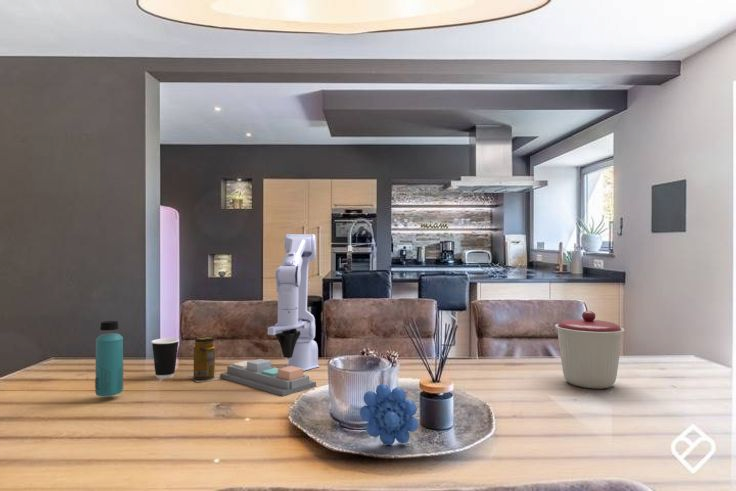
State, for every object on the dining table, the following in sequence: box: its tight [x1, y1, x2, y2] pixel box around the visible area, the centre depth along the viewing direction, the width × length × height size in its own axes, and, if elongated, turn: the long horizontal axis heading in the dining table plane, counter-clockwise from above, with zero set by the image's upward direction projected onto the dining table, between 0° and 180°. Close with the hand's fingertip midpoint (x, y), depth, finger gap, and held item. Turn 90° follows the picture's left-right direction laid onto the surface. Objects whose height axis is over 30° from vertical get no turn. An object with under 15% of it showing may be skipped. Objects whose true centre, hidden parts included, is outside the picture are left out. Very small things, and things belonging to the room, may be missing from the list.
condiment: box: [187, 336, 222, 383], centre depth 140 cm, size 7×8×12 cm
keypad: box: [219, 363, 317, 397], centre depth 136 cm, size 12×29×3 cm, turn 51°
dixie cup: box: [150, 337, 180, 380], centre depth 142 cm, size 8×8×11 cm
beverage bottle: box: [94, 320, 125, 397], centre depth 120 cm, size 6×7×20 cm
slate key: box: [247, 358, 272, 372], centre depth 138 cm, size 5×5×2 cm
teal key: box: [262, 367, 280, 376], centre depth 134 cm, size 5×5×2 cm
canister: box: [554, 310, 626, 390], centre depth 134 cm, size 18×18×21 cm
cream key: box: [232, 360, 249, 369], centre depth 143 cm, size 5×5×2 cm
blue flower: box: [359, 383, 419, 446], centre depth 90 cm, size 12×7×12 cm, turn 97°
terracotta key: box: [278, 366, 304, 381], centre depth 130 cm, size 5×5×2 cm
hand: (287, 357), depth 130 cm, fingers closed
